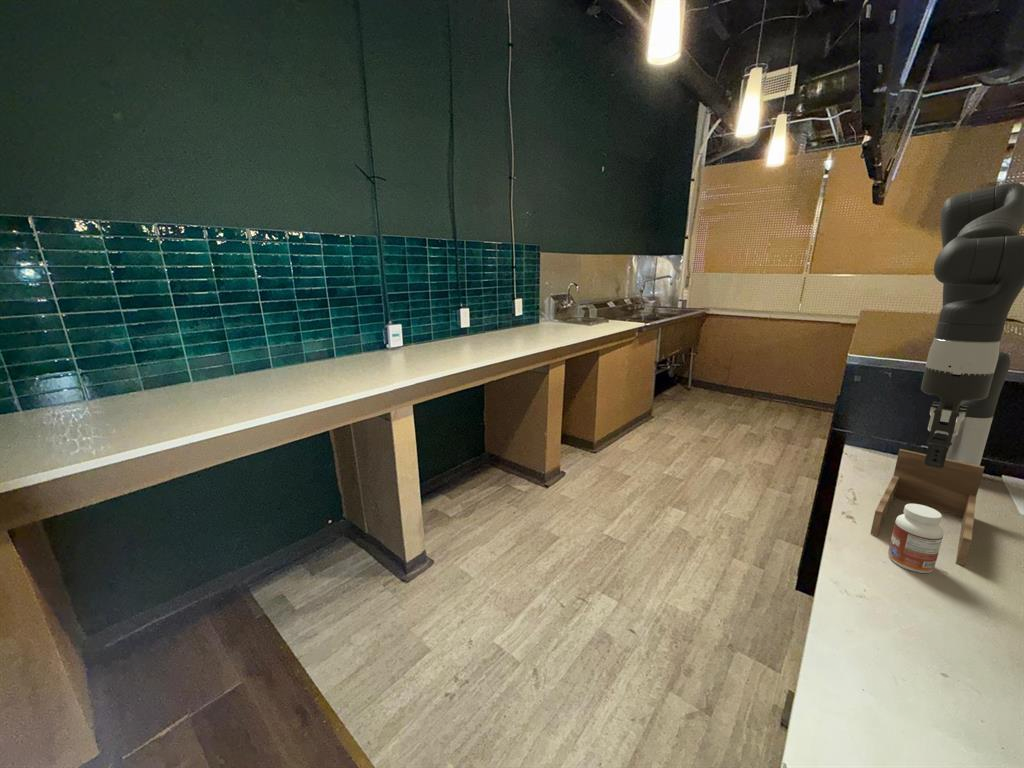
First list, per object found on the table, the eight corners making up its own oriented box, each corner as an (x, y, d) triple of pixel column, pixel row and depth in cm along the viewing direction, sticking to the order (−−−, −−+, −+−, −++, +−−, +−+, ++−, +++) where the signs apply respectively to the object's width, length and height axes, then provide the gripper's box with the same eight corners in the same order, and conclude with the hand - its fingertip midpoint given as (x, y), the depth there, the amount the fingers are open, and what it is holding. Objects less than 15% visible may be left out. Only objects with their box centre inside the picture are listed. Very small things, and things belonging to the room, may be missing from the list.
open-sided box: (889, 494, 96) (899, 448, 93) (970, 516, 86) (984, 466, 83) (870, 533, 82) (881, 481, 79) (963, 566, 72) (980, 508, 69)
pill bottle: (887, 547, 78) (899, 497, 75) (932, 561, 74) (946, 508, 71) (886, 564, 73) (899, 511, 71) (934, 579, 69) (949, 524, 67)
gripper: (930, 357, 71) (911, 440, 75) (920, 371, 63) (899, 464, 67) (995, 362, 66) (971, 452, 70) (994, 378, 57) (966, 479, 61)
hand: (936, 458), depth 68 cm, fingers open, 8 cm apart
